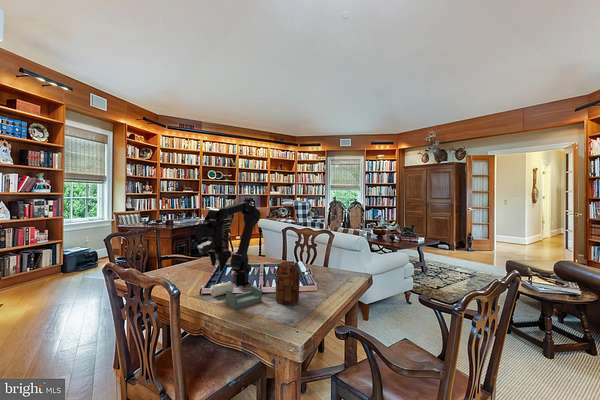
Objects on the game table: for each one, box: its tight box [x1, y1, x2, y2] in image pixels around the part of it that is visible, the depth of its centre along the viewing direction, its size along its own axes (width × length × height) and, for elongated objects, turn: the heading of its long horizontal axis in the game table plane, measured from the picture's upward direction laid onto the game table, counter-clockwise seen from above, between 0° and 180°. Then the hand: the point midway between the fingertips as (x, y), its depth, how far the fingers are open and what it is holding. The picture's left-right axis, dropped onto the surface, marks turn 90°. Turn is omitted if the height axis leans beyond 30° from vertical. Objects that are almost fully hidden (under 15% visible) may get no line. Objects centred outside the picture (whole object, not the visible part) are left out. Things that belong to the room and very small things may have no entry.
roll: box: [210, 281, 234, 298], centre depth 134 cm, size 9×5×5 cm, turn 130°
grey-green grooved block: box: [225, 284, 263, 310], centre depth 126 cm, size 13×8×5 cm, turn 130°
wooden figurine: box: [275, 260, 301, 306], centre depth 126 cm, size 12×6×18 cm, turn 73°
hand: (217, 268), depth 133 cm, fingers open, 9 cm apart
